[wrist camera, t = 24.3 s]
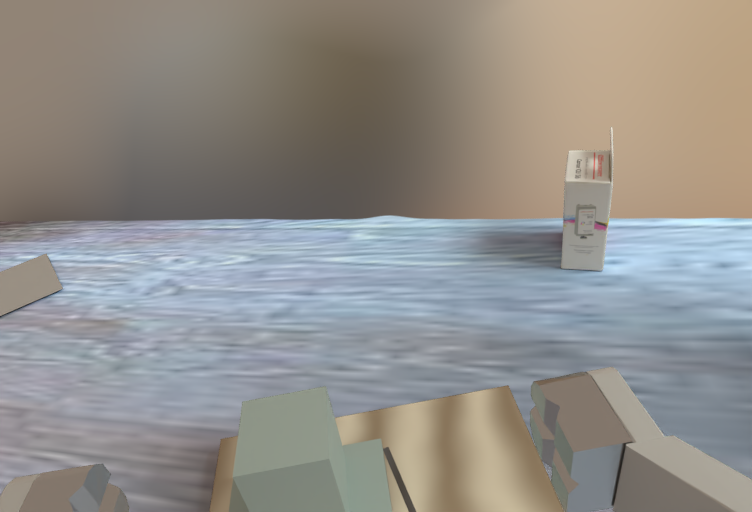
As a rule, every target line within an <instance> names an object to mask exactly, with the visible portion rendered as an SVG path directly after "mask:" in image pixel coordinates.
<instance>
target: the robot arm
mask: <svg viewBox="0 0 752 512" xmlns="http://www.w3.org/2000/svg"><path fill="white" fill-rule="evenodd" d="M531 397H532V399H533V401H534V403H535V407H534V408H533V409H532V410H531V411H530V425H531V430H532V435H533V439H534V442H535V445H536V448H537V451H538V453H539V455H540V458H541V460H542V461H543V462H544V463H546V464H547V465H549V466H550V467H551V468H552V479H551V483H552V485H553V487H554V489H555V491H556V494H557V496H558V498H559V500H560V502H561V505H562V507H563V509H564V511H565V512H591V511H597V510H603V509H609V508H613V511H614V512H752V479H750V478H748V477H746V476H744V475H743V474H741V473H739V472H737V471H736V470H734V469H732V468H730V467H728V466H727V465H725V464H723V463H721V462H720V461H718V460H716V459H714V458H713V457H711V456H709V455H707V454H705V453H704V452H702V451H700V450H698V449H697V448H695V447H693V446H691V445H689V444H688V443H686V442H684V441H682V440H681V439H679V438H677V437H675V436H673V435H672V436H664V435H663V433H662V432H661V430H660V429H659V428H658V426H657V425H656V423H655V422H654V421H653V419H652V418H651V417H650V415H649V414H648V412H647V411H646V410H645V408H644V407H643V405H642V404H641V403H640V401H639V400H638V398H637V397H636V396H635V394H634V393H633V391H632V390H631V389H630V387H629V386H628V384H627V383H626V382H625V380H624V379H623V378H622V376H621V375H620V373H619V372H618V371H617V370H616V369H614V368H613V367H608V368H603V369H598V370H592V371H587V372H579V373H574V374H569V375H564V376H560V377H555V378H550V379H545V380H540V381H535V382H533V384H532V386H531ZM110 475H111V474H110V472H109V471H108V470H107V469H106V467H105V466H104V465H103V464H95V465H89V466H83V467H76V468H70V469H64V470H58V471H51V472H45V473H40V474H34V475H28V476H23V477H17V478H14V479H13V480H12V481H11V482H10V483H9V484H8V485H6V487H5V489H4V490H3V492H2V494H1V496H0V512H129V506H128V502H127V499H126V496H125V494H124V493H123V491H122V490H121V488H118V487H116V486H114V485H111V484H109V483H108V481H109V478H110Z"/></svg>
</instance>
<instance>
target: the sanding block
mask: <svg viewBox="0 0 752 512" xmlns="http://www.w3.org/2000/svg"><path fill="white" fill-rule="evenodd" d="M229 512H392V506H391V499H390V492H389V485H388V479H387V472H386V465H385V459H384V452H383V446H382V441H381V438H380V439H375V440H369V441H364V442H359V443H354V444H348V445H343V446H342V442H341V439H340V435H339V431H338V428H337V424H336V421H335V417H334V414H333V410H332V406H331V403H330V399H329V396H328V392H327V388H326V386H325V387H319V388H314V389H309V390H303V391H298V392H293V393H287V394H282V395H277V396H271V397H266V398H261V399H255V400H250V401H244V402H242V409H241V417H240V424H239V432H238V440H237V447H236V455H235V463H234V470H233V483H232V490H231V498H230V506H229Z"/></svg>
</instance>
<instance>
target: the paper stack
mask: <svg viewBox="0 0 752 512" xmlns="http://www.w3.org/2000/svg"><path fill="white" fill-rule="evenodd" d="M61 289H63V288H62V286H61V284H60V282H59V280H58V277H57V275H56V273H55V271H54V269H53V267H52V265H51V263H50V260H49V258H48V256H47V254H44V255H42V256H39V257H37V258H34V259H32V260H29V261H27V262H24V263H22V264H19V265H17V266H14V267H12V268H9V269H7V270H4V271H2V272H0V316H2V315H4V314H6V313H8V312H11V311H13V310H15V309H18V308H20V307H22V306H24V305H27V304H29V303H31V302H34V301H36V300H38V299H41V298H43V297H45V296H47V295H50V294H52V293H54V292H57V291H59V290H61Z"/></svg>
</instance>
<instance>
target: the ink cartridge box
mask: <svg viewBox="0 0 752 512" xmlns="http://www.w3.org/2000/svg"><path fill="white" fill-rule="evenodd" d="M610 143H611V144H610V147H611V150H610V151H609V150H607V151H606V150H604V151H603V150H599V151H597V150H596V151H595V150H588V151H587V150H585V151H584V150H582V151H580V150H574V151H569V152H568V157H567V164H566V172H565V188H564V190H565V191H564V216H563V241H562V259H561V268H562V269H579V270H596V271H602V270H603V266H604V258H605V249H606V240H607V231H608V222H609V214H610V205H611V196H612V187H613V131H612V127H611V128H610Z"/></svg>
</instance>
